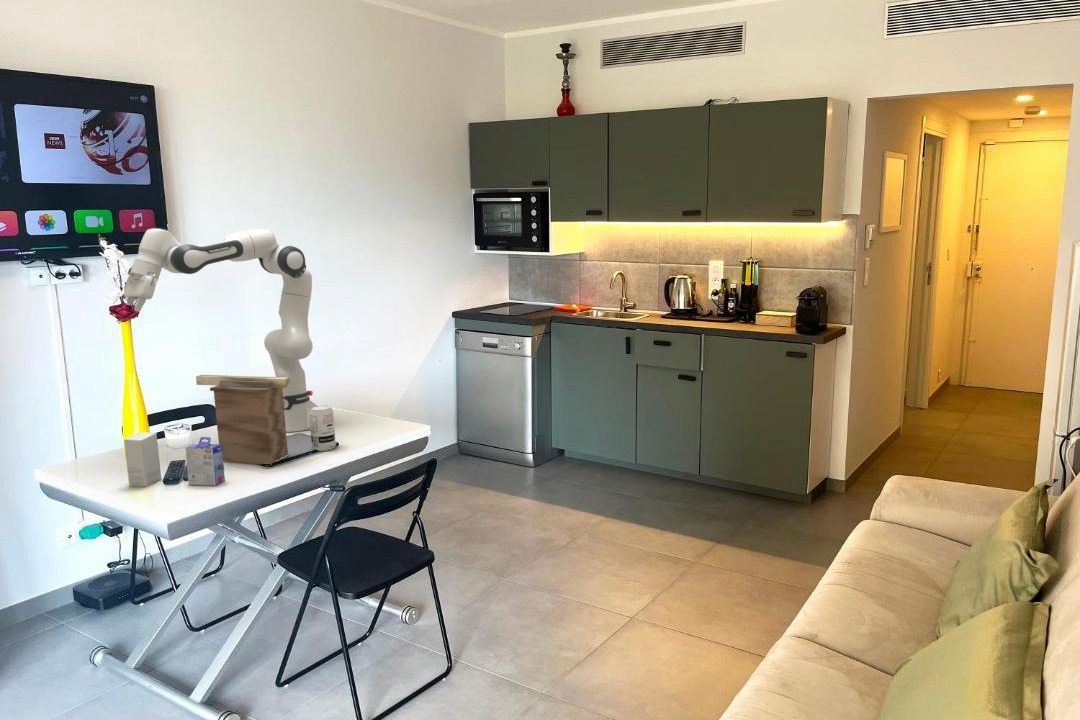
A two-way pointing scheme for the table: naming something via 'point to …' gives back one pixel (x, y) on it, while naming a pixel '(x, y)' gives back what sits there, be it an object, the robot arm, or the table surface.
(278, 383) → the wooden bar
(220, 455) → the ink cartridge box
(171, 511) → the table surface
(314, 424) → the supplement can
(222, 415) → the tall wooden crate
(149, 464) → the skincare box
